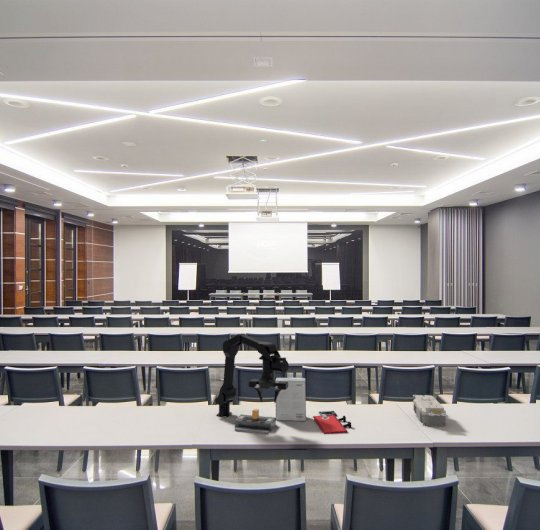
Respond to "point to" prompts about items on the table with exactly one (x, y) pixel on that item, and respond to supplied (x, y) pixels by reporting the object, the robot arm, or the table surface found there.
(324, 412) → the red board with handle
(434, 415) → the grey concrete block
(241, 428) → the dark grey thin bar
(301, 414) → the hard drive box
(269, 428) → the strip
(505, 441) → the table surface
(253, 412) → the lever
